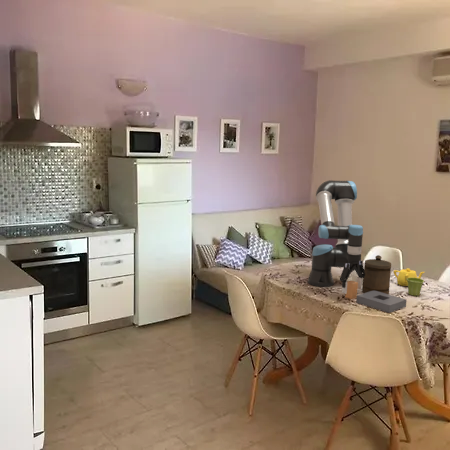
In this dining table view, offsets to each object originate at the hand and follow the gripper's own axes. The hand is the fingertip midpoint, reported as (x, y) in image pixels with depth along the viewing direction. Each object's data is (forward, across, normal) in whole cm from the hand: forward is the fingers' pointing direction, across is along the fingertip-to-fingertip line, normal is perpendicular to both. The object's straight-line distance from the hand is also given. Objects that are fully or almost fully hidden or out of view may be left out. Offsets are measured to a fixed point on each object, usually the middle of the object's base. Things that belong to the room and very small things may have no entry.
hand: (351, 291), depth 285 cm
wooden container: (+4, +19, -3) cm, 20 cm away
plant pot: (+4, +35, -18) cm, 40 cm away
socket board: (+4, +3, -17) cm, 17 cm away
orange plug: (+4, 0, 0) cm, 4 cm away
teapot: (+4, +49, -6) cm, 50 cm away
